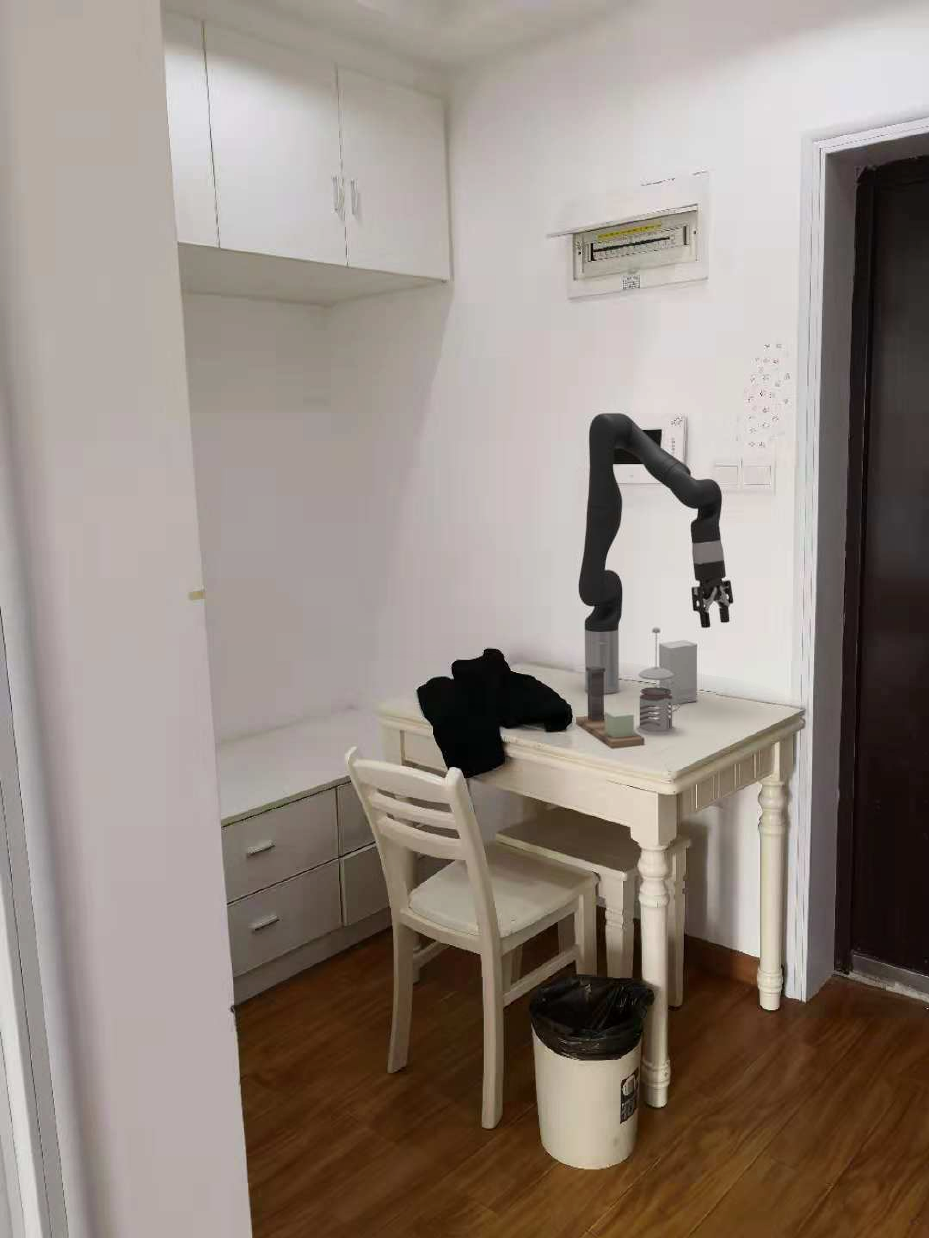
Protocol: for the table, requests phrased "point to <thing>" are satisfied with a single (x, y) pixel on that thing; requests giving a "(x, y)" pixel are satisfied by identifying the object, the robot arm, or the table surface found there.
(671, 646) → the skincare box
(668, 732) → the french press
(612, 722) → the sage block
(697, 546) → the robot arm
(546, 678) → the table surface
